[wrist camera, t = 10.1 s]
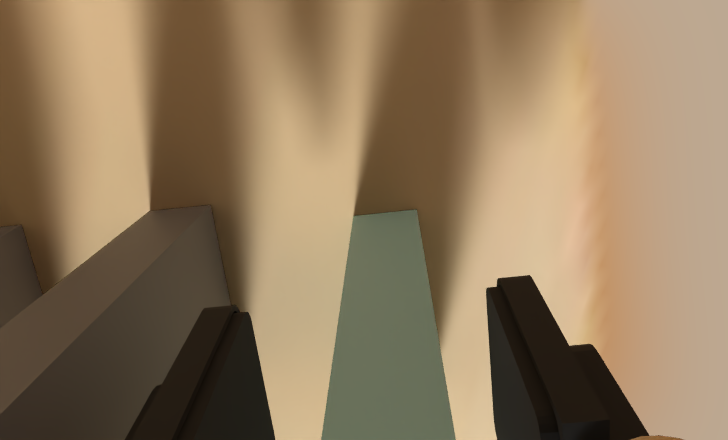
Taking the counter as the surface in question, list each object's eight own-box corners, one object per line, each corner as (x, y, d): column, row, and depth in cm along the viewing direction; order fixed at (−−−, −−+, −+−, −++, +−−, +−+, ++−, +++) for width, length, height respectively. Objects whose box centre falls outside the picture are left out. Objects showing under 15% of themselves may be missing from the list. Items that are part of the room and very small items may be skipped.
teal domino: (353, 216, 16) (319, 450, 7) (416, 209, 16) (456, 440, 7) (375, 386, 18) (368, 743, 9) (433, 381, 17) (482, 737, 9)
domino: (149, 210, 16) (-141, 438, 8) (210, 204, 16) (-16, 430, 7) (189, 381, 18) (-15, 728, 9) (245, 377, 18) (90, 728, 9)
